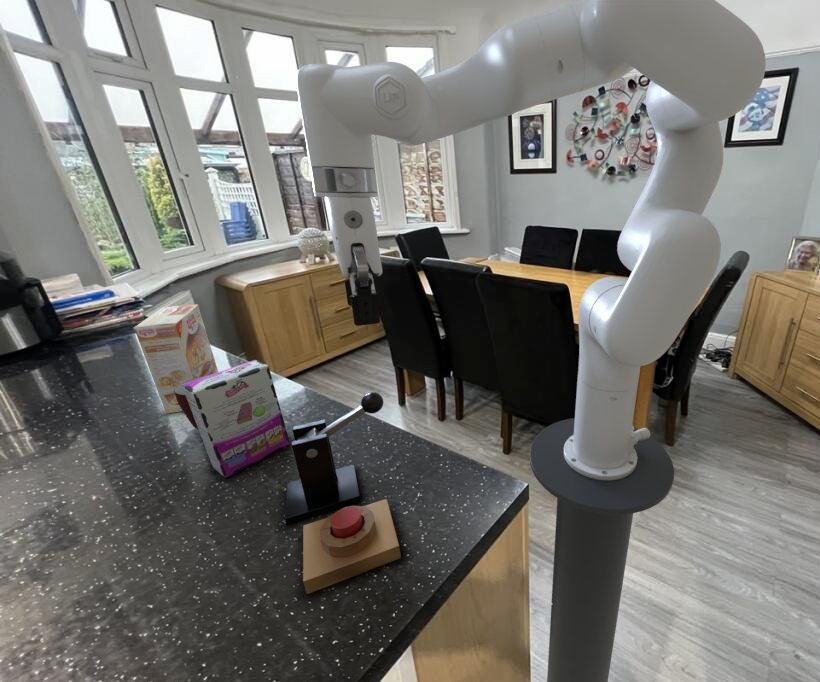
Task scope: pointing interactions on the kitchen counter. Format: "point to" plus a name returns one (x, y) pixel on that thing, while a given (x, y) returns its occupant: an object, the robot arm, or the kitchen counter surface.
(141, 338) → the coffeecake box
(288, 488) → the switch bracket
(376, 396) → the switch lever
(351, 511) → the button
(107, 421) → the kitchen counter surface
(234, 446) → the candy bar box
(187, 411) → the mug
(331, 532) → the button block
